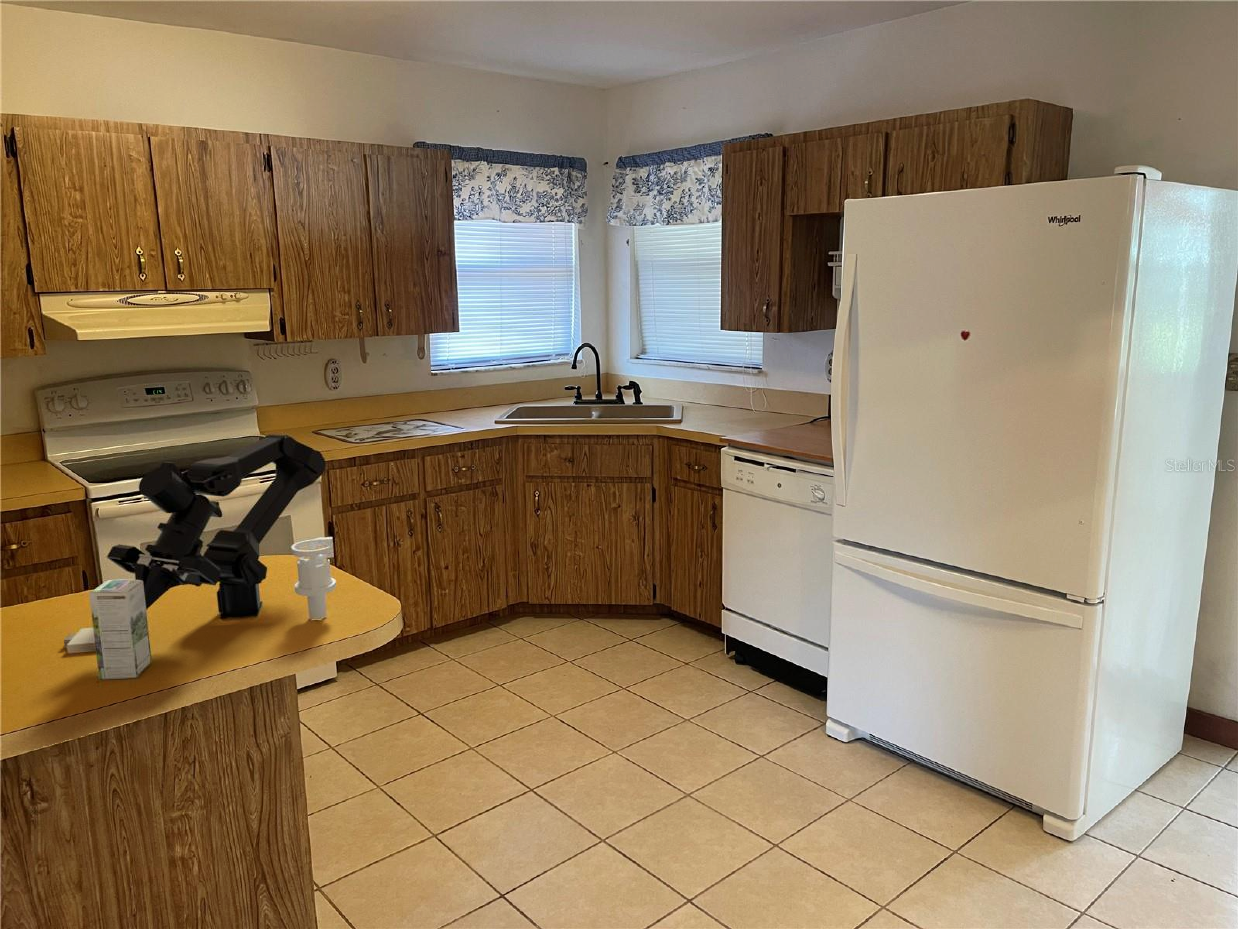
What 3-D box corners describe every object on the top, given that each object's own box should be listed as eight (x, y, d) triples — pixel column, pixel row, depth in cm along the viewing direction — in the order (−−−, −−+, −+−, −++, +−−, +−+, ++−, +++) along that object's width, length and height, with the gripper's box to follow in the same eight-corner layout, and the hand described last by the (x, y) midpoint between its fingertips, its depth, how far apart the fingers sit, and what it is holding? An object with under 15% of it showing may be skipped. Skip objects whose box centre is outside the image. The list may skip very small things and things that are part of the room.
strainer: (338, 622, 161) (332, 543, 157) (296, 627, 159) (289, 546, 155) (338, 608, 167) (332, 531, 164) (298, 612, 165) (291, 535, 162)
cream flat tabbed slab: (139, 631, 157) (138, 623, 156) (127, 648, 150) (126, 639, 150) (74, 637, 154) (73, 629, 154) (59, 654, 148) (58, 645, 147)
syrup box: (115, 664, 144) (104, 579, 141) (153, 662, 145) (143, 578, 141) (98, 680, 138) (86, 592, 135) (138, 678, 139) (127, 591, 136)
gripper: (256, 555, 154) (215, 639, 147) (170, 544, 160) (126, 624, 152) (219, 523, 145) (173, 611, 138) (129, 512, 151) (80, 596, 143)
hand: (138, 612), depth 143 cm, fingers closed
